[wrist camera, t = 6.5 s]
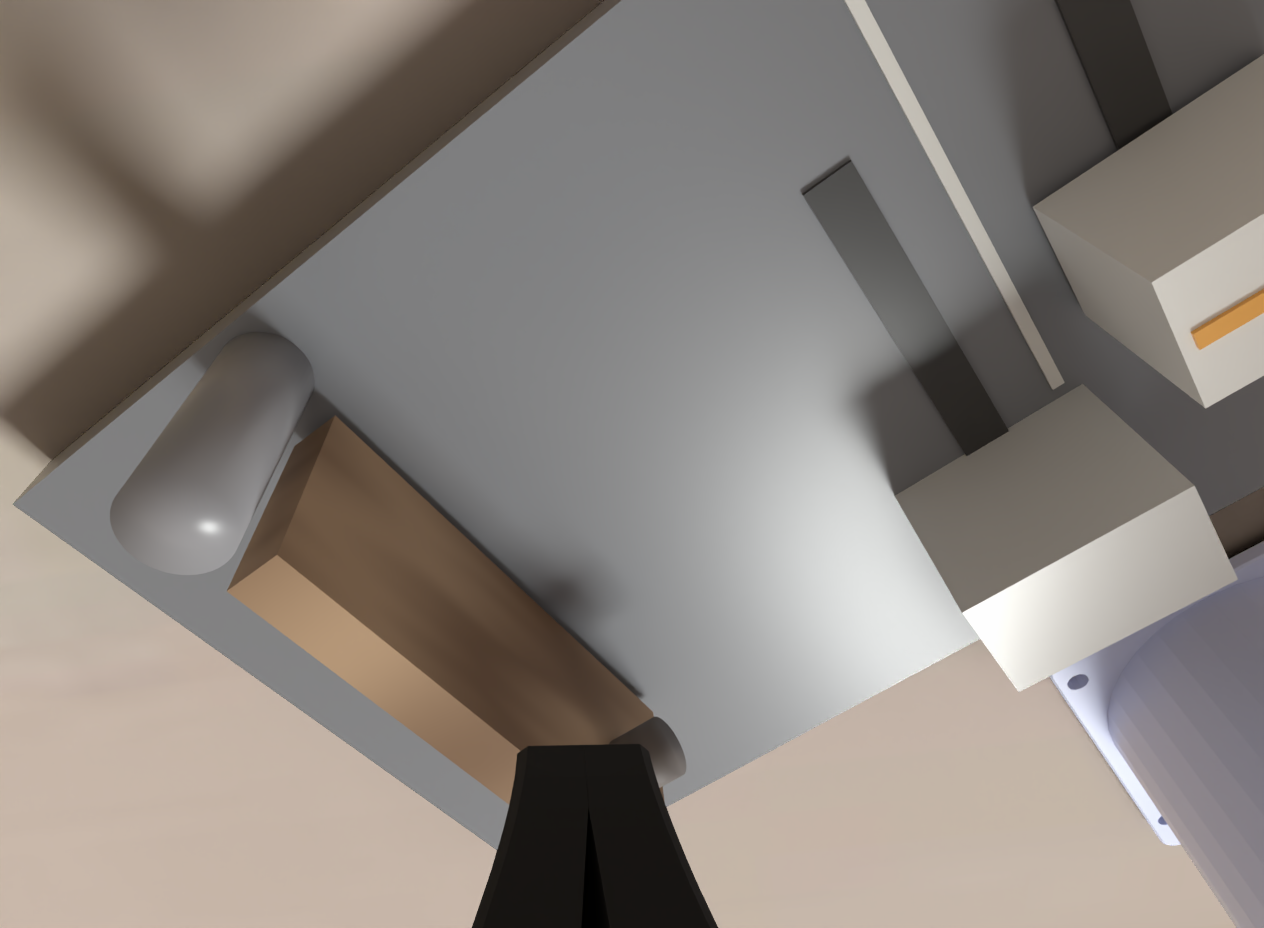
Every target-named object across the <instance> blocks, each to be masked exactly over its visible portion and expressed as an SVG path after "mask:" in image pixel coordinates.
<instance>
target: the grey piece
mask: <svg viewBox="0 0 1264 928" xmlns="http://www.w3.org/2000/svg"><path fill="white" fill-rule="evenodd" d="M1263 54H1264V0H604V1H603V2H602V3H601V4H599V5H598V6H597V7H596V8H595V9H593V10H592V11H591V12H590V13H589V14H587V15H586V16H585V17H584V18H583V19H581V20H580V21H579V22H578V23H577V24H575V25H574V26H573V27H572V28H571V29H569V30H568V31H567V32H566V33H565V34H563V35H562V36H561V37H560V38H559V39H557V40H556V41H555V42H554V43H553V44H551V45H550V46H549V47H548V48H547V49H545V50H544V51H543V52H542V53H541V54H539V55H538V56H537V57H536V58H535V59H533V60H532V61H531V62H530V63H529V64H527V65H526V66H525V67H524V68H523V69H521V70H520V71H519V72H518V73H517V74H515V75H514V76H513V77H512V78H511V79H509V80H508V81H507V82H506V83H505V84H503V85H502V86H501V87H500V88H499V89H497V90H496V91H495V92H494V93H493V94H491V95H490V96H489V97H488V98H487V99H485V100H484V101H483V102H482V103H481V104H479V105H478V106H477V107H476V108H475V109H473V110H472V111H471V112H470V113H469V114H467V115H466V116H465V117H464V118H463V119H461V120H460V121H459V122H458V123H457V124H455V125H454V126H453V127H452V128H451V129H449V130H448V131H447V132H446V133H445V134H443V135H442V136H441V137H440V138H439V139H437V140H436V141H435V142H434V143H433V144H431V145H430V146H429V147H428V148H426V149H425V150H424V151H423V152H422V153H420V154H419V155H418V156H417V157H416V158H414V159H413V160H412V161H411V162H410V163H408V164H407V165H406V166H405V167H404V168H402V169H401V170H400V171H399V172H398V173H396V174H395V175H394V176H393V177H392V178H390V179H389V180H388V181H387V182H386V183H384V184H383V185H382V186H381V187H380V188H378V189H377V190H376V191H375V192H374V193H372V194H371V195H370V196H369V197H368V198H366V199H365V200H364V201H363V202H362V203H360V204H359V205H358V206H357V207H356V208H354V209H353V210H352V211H351V212H350V213H348V214H347V215H346V216H345V217H344V218H342V219H341V220H340V221H339V222H338V223H336V224H335V225H334V226H333V227H332V228H330V229H329V230H328V231H327V232H326V233H324V234H323V235H322V236H321V237H320V238H318V239H317V240H316V241H315V242H314V243H312V244H311V245H310V246H309V247H308V248H306V249H305V250H304V251H303V252H302V253H300V254H299V255H298V256H297V257H296V258H294V259H293V260H292V261H291V262H290V263H288V264H287V265H286V266H285V267H284V268H282V269H281V270H280V271H279V272H278V273H276V274H275V275H274V276H273V277H272V278H270V279H269V280H268V281H267V282H266V283H264V284H263V285H262V286H261V287H260V288H258V289H257V290H256V291H255V292H254V293H252V294H251V295H250V296H249V297H248V298H246V299H245V300H244V301H243V302H242V303H240V304H239V305H238V306H237V307H235V308H234V309H233V310H232V311H231V312H229V313H228V314H227V315H226V316H225V317H223V318H222V319H221V320H220V321H219V322H217V323H216V324H215V325H214V326H213V327H211V328H210V329H209V330H208V331H207V332H205V333H204V334H203V335H202V336H201V337H199V338H198V339H197V340H196V341H195V342H193V343H192V344H191V345H190V346H189V347H187V348H186V349H185V350H184V351H183V352H181V353H180V354H179V355H178V356H177V357H175V358H174V359H173V360H172V361H171V362H169V363H168V364H167V365H166V366H165V367H163V368H162V369H161V370H160V371H159V372H157V373H156V374H155V375H154V376H153V377H151V378H150V379H149V380H148V381H147V382H145V383H144V384H143V385H142V386H141V387H139V388H138V389H137V390H136V391H135V392H133V393H132V394H131V395H130V396H129V397H127V398H126V399H125V400H124V401H123V402H121V403H120V404H119V405H118V406H117V407H115V408H114V409H113V410H112V411H111V412H109V413H108V414H107V415H106V416H105V417H103V418H102V419H101V420H100V421H99V422H97V423H96V424H95V425H94V426H93V427H91V428H90V429H89V430H88V431H87V432H85V433H84V434H83V435H82V436H81V437H79V438H78V439H77V440H76V441H75V442H73V443H72V444H71V445H70V446H69V447H67V448H66V449H65V450H64V451H63V452H61V453H60V454H59V455H58V456H57V457H55V458H54V459H53V460H52V461H51V462H50V463H49V464H48V465H47V466H46V467H45V468H44V469H43V471H42V472H41V473H40V474H39V475H38V476H37V477H36V478H35V480H34V481H33V482H32V483H31V484H30V485H29V486H28V487H27V489H26V490H25V491H24V492H23V493H22V494H21V495H20V496H19V498H18V499H17V500H16V501H15V502H14V503H13V505H14V506H16V507H17V508H18V509H20V510H21V511H23V512H24V513H25V514H27V515H28V516H30V517H31V518H32V519H34V520H35V521H37V522H38V523H39V524H41V525H42V526H44V527H45V528H46V529H48V530H49V531H51V532H52V533H53V534H55V535H56V536H58V537H59V538H60V539H62V540H63V541H65V542H66V543H67V544H69V545H70V546H72V547H73V548H74V549H76V550H77V551H79V552H80V553H81V554H83V555H84V556H86V557H87V558H88V559H90V560H91V561H93V562H94V563H95V564H97V565H98V566H100V567H101V568H102V569H104V570H105V571H107V572H108V573H109V574H111V575H112V576H114V577H115V578H116V579H118V580H119V581H121V582H122V583H124V584H125V585H126V586H128V587H129V588H131V589H132V590H133V591H135V592H136V593H138V594H139V595H140V596H142V597H143V598H145V599H146V600H147V601H149V602H150V603H152V604H153V605H154V606H156V607H157V608H159V609H160V610H161V611H163V612H164V613H166V614H167V615H168V616H170V617H171V618H173V619H174V620H175V621H177V622H178V623H180V624H181V625H182V626H184V627H185V628H187V629H188V630H189V631H191V632H192V633H194V634H195V635H196V636H198V637H199V638H201V639H202V640H203V641H205V642H206V643H208V644H209V645H210V646H212V647H213V648H215V649H216V650H217V651H219V652H220V653H222V654H223V655H224V656H226V657H227V658H229V659H230V660H231V661H233V662H234V663H236V664H237V665H238V666H240V667H241V668H243V669H244V670H245V671H247V672H248V673H250V674H251V675H252V676H254V677H255V678H257V679H258V680H259V681H261V682H262V683H264V684H265V685H266V686H268V687H269V688H271V689H272V690H273V691H275V692H276V693H278V694H279V695H280V696H282V697H283V698H285V699H286V700H287V701H289V702H290V703H292V704H293V705H294V706H296V707H297V708H299V709H300V710H301V711H303V712H304V713H306V714H307V715H308V716H310V717H311V718H313V719H314V720H315V721H317V722H318V723H320V724H321V725H322V726H324V727H325V728H327V729H328V730H329V731H331V732H332V733H334V734H335V735H336V736H338V737H339V738H341V739H342V740H343V741H345V742H346V743H348V744H349V745H350V746H352V747H353V748H355V749H356V750H357V751H359V752H360V753H362V754H363V755H364V756H366V757H367V758H369V759H370V760H371V761H373V762H374V763H376V764H377V765H378V766H380V767H381V768H383V769H384V770H385V771H387V772H388V773H390V774H391V775H392V776H394V777H395V778H397V779H398V780H399V781H401V782H402V783H404V784H405V785H406V786H408V787H409V788H411V789H412V790H413V791H415V792H416V793H418V794H419V795H420V796H422V797H423V798H425V799H426V800H427V801H429V802H430V803H432V804H433V805H434V806H436V807H437V808H439V809H440V810H441V811H443V812H444V813H446V814H447V815H448V816H450V817H451V818H453V819H454V820H455V821H457V822H458V823H460V824H461V825H462V826H464V827H465V828H467V829H468V830H469V831H471V832H472V833H474V834H475V835H476V836H478V837H479V838H481V839H482V840H483V841H485V842H486V843H488V844H489V845H490V846H492V847H493V848H495V849H496V850H497V849H498V846H499V842H500V839H501V835H502V832H503V828H504V824H505V820H506V816H507V812H508V808H509V804H507V803H506V802H505V801H503V800H502V799H501V798H499V797H498V796H497V795H495V794H494V793H493V792H491V791H490V790H489V789H488V788H486V787H485V786H484V785H482V784H481V783H480V782H478V781H477V780H476V779H474V778H473V777H472V776H470V775H469V774H468V773H466V772H465V771H464V770H462V769H461V768H460V767H458V766H457V765H456V764H454V763H453V762H452V761H451V760H449V759H448V758H447V757H445V756H444V755H443V754H441V753H440V752H439V751H437V750H436V749H435V748H433V747H432V746H431V745H429V744H428V743H427V742H425V741H424V740H423V739H421V738H420V737H419V736H417V735H416V734H415V733H413V732H412V731H411V730H410V729H408V728H407V727H406V726H404V725H403V724H402V723H400V722H399V721H398V720H396V719H395V718H394V717H392V716H391V715H390V714H388V713H387V712H386V711H384V710H383V709H382V708H380V707H379V706H378V705H376V704H375V703H374V702H372V701H371V700H370V699H369V698H367V697H366V696H365V695H363V694H362V693H361V692H359V691H358V690H357V689H355V688H354V687H353V686H351V685H350V684H349V683H347V682H346V681H345V680H343V679H342V678H341V677H339V676H338V675H337V674H335V673H334V672H333V671H332V670H330V669H329V668H328V667H326V666H325V665H324V664H322V663H321V662H320V661H318V660H317V659H316V658H314V657H313V656H312V655H310V654H309V653H308V652H306V651H305V650H304V649H302V648H301V647H300V646H298V645H297V644H296V643H294V642H293V641H292V640H291V639H289V638H288V637H287V636H285V635H284V634H283V633H281V632H280V631H279V630H277V629H276V628H275V627H273V626H272V625H271V624H269V623H268V622H267V621H265V620H264V619H263V618H261V617H260V616H259V615H257V614H256V613H255V612H253V611H252V610H251V609H250V608H248V607H247V606H246V605H244V604H243V603H242V602H240V601H239V600H238V599H236V598H235V597H234V596H232V595H231V594H230V593H228V592H227V589H228V587H229V585H230V583H231V581H232V579H233V577H234V574H235V572H236V570H237V568H238V566H239V564H240V562H241V559H242V557H243V555H244V553H245V551H246V549H247V547H248V544H249V542H250V540H251V538H252V536H253V534H254V532H255V529H256V527H257V525H258V523H259V521H260V519H261V517H262V514H263V512H264V510H265V508H266V506H267V504H268V502H269V499H270V497H271V495H272V493H273V491H274V489H275V487H276V485H277V482H278V480H279V478H280V476H281V474H282V472H283V470H284V467H285V465H286V463H287V461H288V459H289V457H290V455H291V452H292V450H293V448H294V446H295V445H297V444H298V443H299V442H301V441H302V440H303V439H305V438H306V437H307V436H308V435H310V434H311V433H312V432H314V431H315V430H316V429H318V428H319V427H320V426H322V425H323V424H324V423H326V422H327V421H328V420H330V419H331V418H332V417H334V416H337V417H338V418H339V419H340V420H341V421H342V422H343V423H344V424H345V425H346V426H347V427H348V428H349V429H350V430H352V431H353V432H354V433H355V434H356V435H357V436H358V437H359V438H360V439H361V440H362V441H363V442H364V443H365V444H367V445H368V446H369V447H370V448H371V449H372V450H373V451H374V452H375V453H376V454H377V455H378V456H379V457H380V458H382V459H383V460H384V461H385V462H386V463H387V464H388V465H389V466H390V467H391V468H392V469H393V470H394V471H395V472H397V473H398V474H399V475H400V476H401V477H402V478H403V479H404V480H405V481H406V482H407V483H408V484H409V485H410V486H412V487H413V488H414V489H415V490H416V491H417V492H418V493H419V494H420V495H421V496H422V497H423V498H424V499H425V500H427V501H428V502H429V503H430V504H431V505H432V506H433V507H434V508H435V509H436V510H437V511H438V512H439V513H440V514H442V515H443V516H444V517H445V518H446V519H447V520H448V521H449V522H450V523H451V524H452V525H453V526H454V527H455V528H457V529H458V530H459V531H460V532H461V533H462V534H463V535H464V536H465V537H466V538H467V539H468V540H469V541H470V542H472V543H473V544H474V545H475V546H476V547H477V548H478V549H479V550H480V551H481V552H482V553H483V554H484V555H485V556H487V557H488V558H489V559H490V560H491V561H492V562H493V563H494V564H495V565H496V566H497V567H498V568H499V569H500V570H502V571H503V572H504V573H505V574H506V575H507V576H508V577H509V578H510V579H511V580H512V581H513V582H514V583H515V584H517V585H518V586H519V587H520V588H521V589H522V590H523V591H524V592H525V593H526V594H527V595H528V596H529V597H530V598H532V599H533V600H534V601H535V602H536V603H537V604H538V605H539V606H540V607H541V608H542V609H543V610H544V611H545V612H547V613H548V614H549V615H550V616H551V617H552V618H553V619H554V620H555V621H556V622H557V623H558V624H559V625H560V626H562V627H563V628H564V629H565V630H566V631H567V632H568V633H569V634H570V635H571V636H572V637H573V638H574V639H576V640H577V641H578V642H579V643H580V644H581V645H582V646H583V647H584V648H585V649H586V650H587V651H588V652H589V653H591V654H592V655H593V656H594V657H595V658H596V659H597V660H598V661H599V662H600V663H601V664H602V665H603V666H604V667H606V668H607V669H608V670H609V671H610V672H611V673H612V674H613V675H614V676H615V677H616V678H617V679H618V680H619V681H621V682H622V683H623V684H624V685H625V686H626V687H627V688H628V689H629V690H630V691H631V692H632V693H633V694H634V695H636V696H637V697H638V698H639V699H640V700H641V701H642V702H643V703H644V704H645V705H646V706H647V707H648V708H649V709H651V710H652V711H653V715H654V717H659V718H661V719H662V720H664V721H665V722H666V723H667V724H668V725H669V727H670V728H671V729H672V731H673V732H674V734H675V735H676V737H677V739H678V741H679V743H680V745H681V747H682V749H683V752H684V755H685V759H686V772H685V774H684V775H683V776H681V777H679V778H677V779H675V780H673V781H672V782H670V783H668V784H666V785H664V786H663V794H664V801H665V805H666V807H667V806H669V805H671V804H673V803H675V802H677V801H679V800H680V799H682V798H684V797H686V796H688V795H690V794H692V793H694V792H695V791H697V790H699V789H701V788H703V787H705V786H707V785H708V784H710V783H712V782H714V781H716V780H718V779H720V778H722V777H723V776H725V775H727V774H729V773H731V772H733V771H735V770H736V769H738V768H740V767H742V766H744V765H746V764H748V763H749V762H751V761H753V760H755V759H757V758H759V757H761V756H763V755H764V754H766V753H768V752H770V751H772V750H774V749H776V748H777V747H779V746H781V745H783V744H785V743H787V742H789V741H790V740H792V739H794V738H796V737H798V736H800V735H802V734H804V733H805V732H807V731H809V730H811V729H813V728H815V727H817V726H818V725H820V724H822V723H824V722H826V721H828V720H830V719H832V718H833V717H835V716H837V715H839V714H841V713H843V712H845V711H846V710H848V709H850V708H852V707H854V706H856V705H858V704H859V703H861V702H863V701H865V700H867V699H869V698H871V697H873V696H874V695H876V694H878V693H880V692H882V691H884V690H886V689H887V688H889V687H891V686H893V685H895V684H897V683H899V682H900V681H902V680H904V679H906V678H908V677H910V676H912V675H914V674H915V673H917V672H919V671H921V670H923V669H925V668H927V667H928V666H930V665H932V664H934V663H936V662H938V661H940V660H941V659H943V658H945V657H947V656H949V655H951V654H953V653H955V652H956V651H958V650H960V649H962V648H964V647H966V646H968V645H969V644H971V643H973V642H975V641H977V640H979V639H981V640H982V641H983V643H984V644H985V646H986V647H987V648H988V650H989V651H990V653H991V654H992V655H993V657H994V658H995V660H996V661H997V662H998V664H999V665H1000V667H1001V668H1002V669H1003V671H1004V672H1005V674H1006V675H1007V676H1008V678H1009V679H1010V681H1011V682H1012V683H1013V685H1014V686H1015V688H1016V689H1017V690H1018V692H1020V691H1022V690H1024V689H1026V688H1028V687H1030V686H1032V685H1034V684H1036V683H1038V682H1040V681H1042V680H1043V679H1045V678H1047V677H1049V676H1051V675H1053V674H1055V673H1057V672H1059V671H1061V670H1063V669H1065V668H1067V667H1069V666H1071V665H1073V664H1075V663H1077V662H1079V661H1080V660H1082V659H1084V658H1086V657H1088V656H1090V655H1092V654H1094V653H1096V652H1098V651H1100V650H1102V649H1104V648H1106V647H1108V646H1110V645H1112V644H1114V643H1116V642H1117V641H1119V640H1121V639H1123V638H1125V637H1127V636H1129V635H1131V634H1133V633H1135V632H1137V631H1139V630H1141V629H1143V628H1145V627H1147V626H1149V625H1151V624H1153V623H1154V622H1156V621H1158V620H1160V619H1162V618H1164V617H1166V616H1168V615H1170V614H1172V613H1174V612H1176V611H1178V610H1180V609H1182V608H1184V607H1186V606H1188V605H1190V604H1191V603H1193V602H1195V601H1197V600H1199V599H1201V598H1203V597H1205V596H1207V595H1209V594H1211V593H1213V592H1215V591H1217V590H1219V589H1221V588H1223V587H1225V586H1227V585H1228V584H1230V583H1232V582H1234V581H1236V580H1238V578H1237V576H1236V574H1235V572H1234V569H1233V567H1232V565H1231V563H1230V561H1229V559H1228V557H1227V554H1226V552H1225V550H1224V548H1223V546H1222V544H1221V541H1220V539H1219V537H1218V535H1217V533H1216V531H1215V529H1214V526H1213V524H1212V522H1211V520H1210V518H1209V516H1210V515H1212V514H1214V513H1216V512H1217V511H1219V510H1221V509H1223V508H1225V507H1227V506H1229V505H1230V504H1232V503H1234V502H1236V501H1238V500H1240V499H1242V498H1244V497H1245V496H1247V495H1249V494H1251V493H1253V492H1255V491H1257V490H1258V489H1260V488H1262V487H1264V376H1262V377H1260V378H1259V379H1257V380H1255V381H1253V382H1252V383H1250V384H1248V385H1246V386H1245V387H1243V388H1241V389H1239V390H1237V391H1236V392H1234V393H1232V394H1230V395H1229V396H1227V397H1225V398H1223V399H1222V400H1220V401H1218V402H1216V403H1215V404H1213V405H1211V406H1209V407H1208V408H1204V407H1203V406H1202V405H1200V404H1199V403H1198V402H1197V401H1195V400H1194V399H1193V398H1191V397H1190V396H1189V395H1188V394H1186V393H1185V392H1184V391H1182V390H1181V389H1180V388H1178V387H1177V386H1176V385H1175V384H1173V383H1172V382H1171V381H1169V380H1168V379H1167V378H1166V377H1164V376H1163V375H1162V374H1160V373H1159V372H1158V371H1157V370H1155V369H1154V368H1153V367H1151V366H1150V365H1149V364H1148V363H1146V362H1145V361H1144V360H1142V359H1141V358H1140V357H1139V356H1137V355H1136V354H1135V353H1133V352H1132V351H1131V350H1130V349H1128V348H1127V347H1126V346H1124V345H1123V344H1122V343H1121V342H1119V341H1118V340H1117V339H1115V338H1114V337H1113V336H1112V335H1110V334H1109V333H1108V332H1106V331H1105V330H1104V329H1103V328H1101V327H1100V326H1099V325H1097V324H1096V323H1095V322H1093V321H1092V320H1091V319H1090V318H1088V317H1087V316H1086V315H1085V314H1084V312H1083V310H1082V308H1081V306H1080V304H1079V302H1078V300H1077V297H1076V295H1075V293H1074V291H1073V289H1072V287H1071V285H1070V283H1069V281H1068V279H1067V277H1066V275H1065V273H1064V271H1063V269H1062V267H1061V264H1060V262H1059V260H1058V258H1057V256H1056V254H1055V252H1054V250H1053V248H1052V246H1051V244H1050V242H1049V240H1048V238H1047V236H1046V234H1045V231H1044V229H1043V227H1042V225H1041V223H1040V221H1039V219H1038V217H1037V215H1036V213H1035V211H1034V209H1033V206H1035V205H1036V204H1038V203H1039V202H1041V201H1042V200H1044V199H1045V198H1047V197H1048V196H1050V195H1051V194H1053V193H1054V192H1056V191H1057V190H1059V189H1060V188H1062V187H1063V186H1065V185H1066V184H1068V183H1069V182H1071V181H1072V180H1074V179H1075V178H1077V177H1078V176H1080V175H1082V174H1083V173H1085V172H1086V171H1088V170H1089V169H1091V168H1092V167H1094V166H1095V165H1097V164H1098V163H1100V162H1101V161H1103V160H1104V159H1106V158H1107V157H1109V156H1110V155H1112V154H1113V153H1115V152H1116V151H1118V150H1119V149H1121V148H1122V147H1124V146H1125V145H1127V144H1128V143H1130V142H1132V141H1133V140H1135V139H1136V138H1138V137H1139V136H1141V135H1142V134H1144V133H1145V132H1147V131H1148V130H1150V129H1151V128H1153V127H1154V126H1156V125H1157V124H1159V123H1160V122H1162V121H1163V120H1165V119H1166V118H1168V117H1169V116H1171V115H1172V114H1174V113H1175V112H1177V111H1178V110H1180V109H1181V108H1183V107H1185V106H1186V105H1188V104H1189V103H1191V102H1192V101H1194V100H1195V99H1197V98H1198V97H1200V96H1201V95H1203V94H1204V93H1206V92H1207V91H1209V90H1210V89H1212V88H1213V87H1215V86H1216V85H1218V84H1219V83H1221V82H1222V81H1224V80H1225V79H1227V78H1228V77H1230V76H1231V75H1233V74H1235V73H1236V72H1238V71H1239V70H1241V69H1242V68H1244V67H1245V66H1247V65H1248V64H1250V63H1251V62H1253V61H1254V60H1256V59H1257V58H1259V57H1260V56H1262V55H1263Z"/></svg>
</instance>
